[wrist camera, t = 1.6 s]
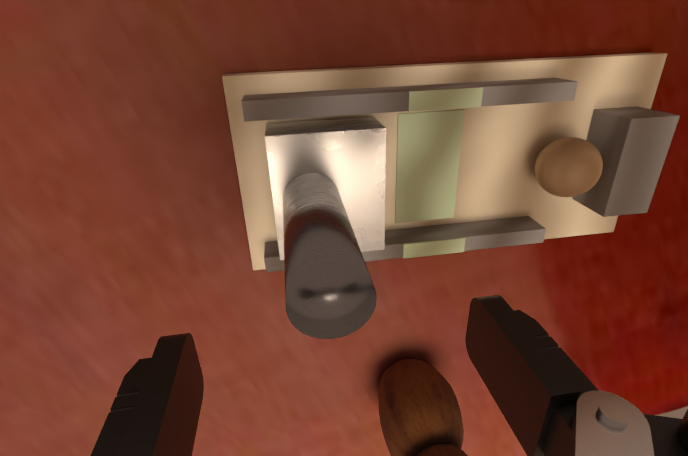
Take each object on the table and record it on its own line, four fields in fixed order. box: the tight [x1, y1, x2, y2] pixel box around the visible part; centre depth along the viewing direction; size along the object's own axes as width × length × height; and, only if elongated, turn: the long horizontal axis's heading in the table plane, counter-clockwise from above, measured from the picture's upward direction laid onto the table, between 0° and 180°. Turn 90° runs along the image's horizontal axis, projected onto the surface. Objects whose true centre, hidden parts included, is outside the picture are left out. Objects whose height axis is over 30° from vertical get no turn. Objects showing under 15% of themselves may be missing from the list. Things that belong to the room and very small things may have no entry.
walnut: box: [535, 137, 603, 197], centre depth 24 cm, size 4×4×4 cm
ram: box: [265, 116, 386, 339], centre depth 19 cm, size 6×7×12 cm
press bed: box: [222, 53, 680, 272], centre depth 24 cm, size 26×12×4 cm, turn 92°
